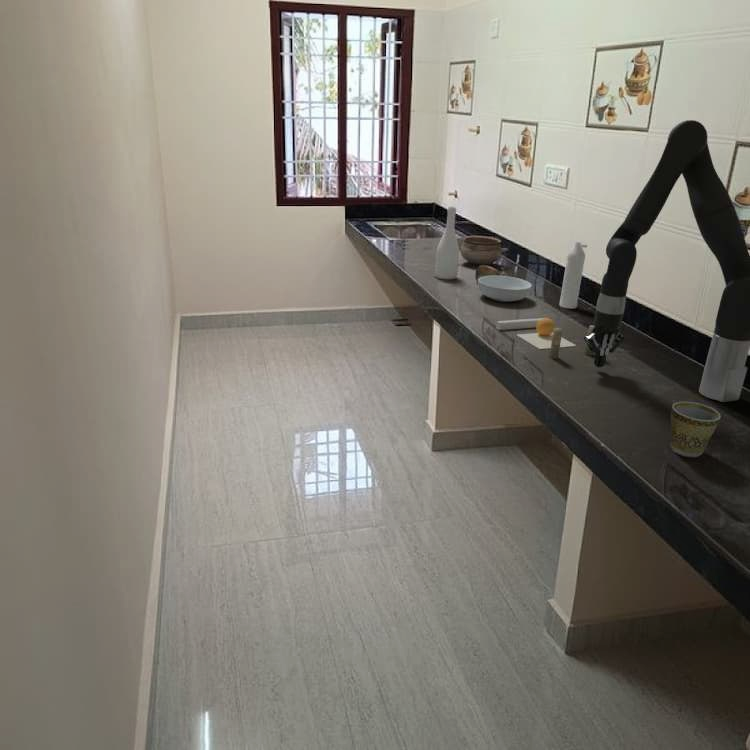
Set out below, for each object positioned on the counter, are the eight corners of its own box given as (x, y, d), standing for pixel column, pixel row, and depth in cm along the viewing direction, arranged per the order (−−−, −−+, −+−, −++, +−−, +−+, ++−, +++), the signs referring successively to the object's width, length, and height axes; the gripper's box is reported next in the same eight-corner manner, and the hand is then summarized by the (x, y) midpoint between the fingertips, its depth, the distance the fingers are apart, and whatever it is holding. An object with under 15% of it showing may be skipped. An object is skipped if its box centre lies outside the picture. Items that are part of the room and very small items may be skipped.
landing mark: (576, 346, 217) (576, 345, 216) (539, 349, 212) (539, 348, 212) (551, 332, 229) (551, 331, 228) (516, 335, 224) (516, 334, 224)
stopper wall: (548, 326, 235) (550, 319, 234) (499, 330, 228) (500, 323, 227) (545, 324, 236) (546, 317, 236) (496, 328, 230) (497, 321, 229)
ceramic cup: (694, 465, 147) (705, 424, 143) (653, 446, 154) (663, 407, 150) (725, 450, 154) (736, 411, 150) (684, 433, 161) (694, 395, 158)
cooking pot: (502, 262, 327) (505, 237, 322) (508, 271, 309) (511, 245, 305) (451, 259, 327) (453, 234, 323) (454, 268, 310) (456, 241, 305)
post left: (559, 358, 205) (564, 330, 202) (552, 359, 204) (557, 330, 201) (554, 355, 207) (559, 327, 204) (547, 356, 207) (552, 328, 203)
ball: (548, 334, 228) (558, 336, 222) (532, 335, 227) (541, 337, 221) (548, 316, 227) (558, 318, 221) (532, 317, 225) (541, 319, 220)
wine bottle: (434, 274, 297) (440, 204, 286) (455, 275, 297) (462, 206, 286) (435, 279, 289) (441, 208, 277) (457, 280, 288) (464, 209, 277)
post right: (594, 354, 210) (600, 327, 206) (588, 355, 209) (593, 328, 205) (589, 352, 212) (594, 324, 208) (582, 352, 211) (587, 325, 208)
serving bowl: (505, 309, 252) (508, 291, 249) (465, 295, 267) (466, 278, 264) (540, 301, 264) (542, 284, 262) (499, 289, 279) (501, 272, 277)
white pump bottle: (556, 304, 262) (566, 240, 252) (571, 304, 263) (582, 240, 254) (566, 310, 254) (577, 244, 244) (582, 310, 255) (593, 245, 246)
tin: (473, 282, 288) (476, 262, 284) (480, 281, 289) (482, 262, 286) (493, 291, 275) (496, 271, 272) (500, 291, 276) (502, 270, 273)
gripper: (599, 314, 184) (588, 373, 191) (637, 312, 189) (625, 369, 195) (582, 306, 191) (572, 363, 197) (620, 304, 195) (609, 359, 202)
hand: (599, 366), depth 196 cm, fingers closed
